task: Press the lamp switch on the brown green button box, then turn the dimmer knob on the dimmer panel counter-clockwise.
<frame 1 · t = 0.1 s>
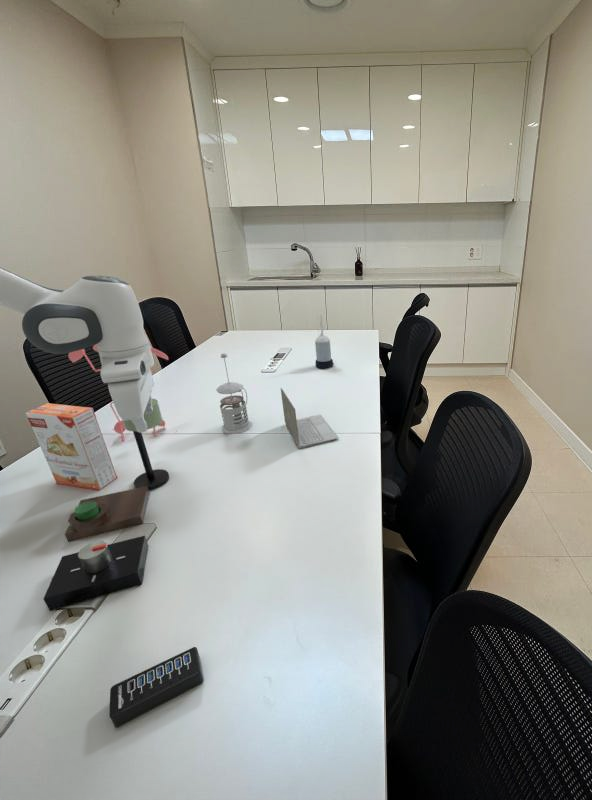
hand: (145, 421, 83), 22 cm above the table, tool pointing down, fingers open, 8 cm apart
lamp switch: (87, 510, 83), point 5 cm above the table, slide at 0.2 cm
dimmer knob: (95, 556, 70), point 5 cm above the table, hinge at 0.0°
brown green button box: (112, 515, 88), on the table
laptop: (310, 432, 123), on the table
french press: (238, 425, 128), on the table
dimmer panel: (103, 576, 72), on the table
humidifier: (324, 366, 182), on the table
figurine: (144, 429, 127), on the table
cracker box: (87, 482, 101), on the table
multiport hub: (160, 690, 54), on the table
desk lamp: (152, 481, 100), on the table
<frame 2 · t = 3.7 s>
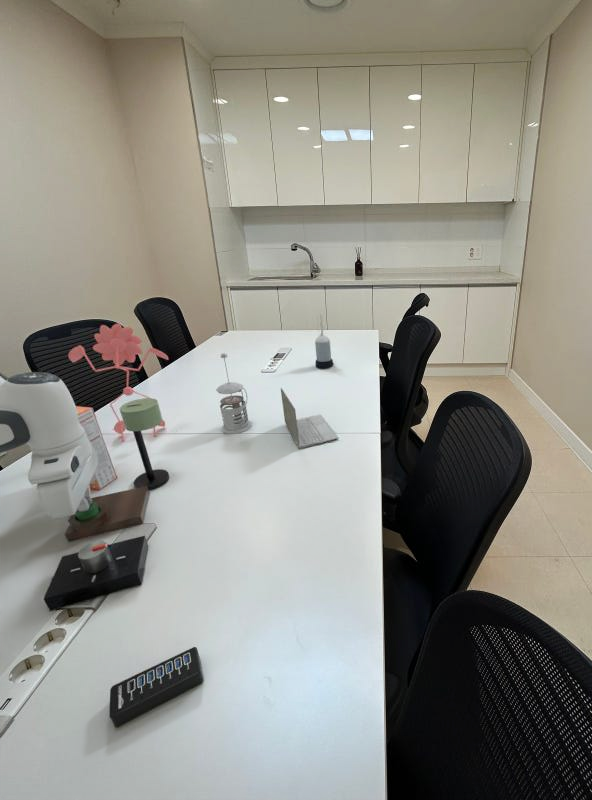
hand: (86, 506, 82), 6 cm above the table, tool pointing down, fingers closed, pressing on lamp switch
lamp switch: (87, 511, 83), point 5 cm above the table, slide at 0.1 cm, touching gripper
everything else where it was.
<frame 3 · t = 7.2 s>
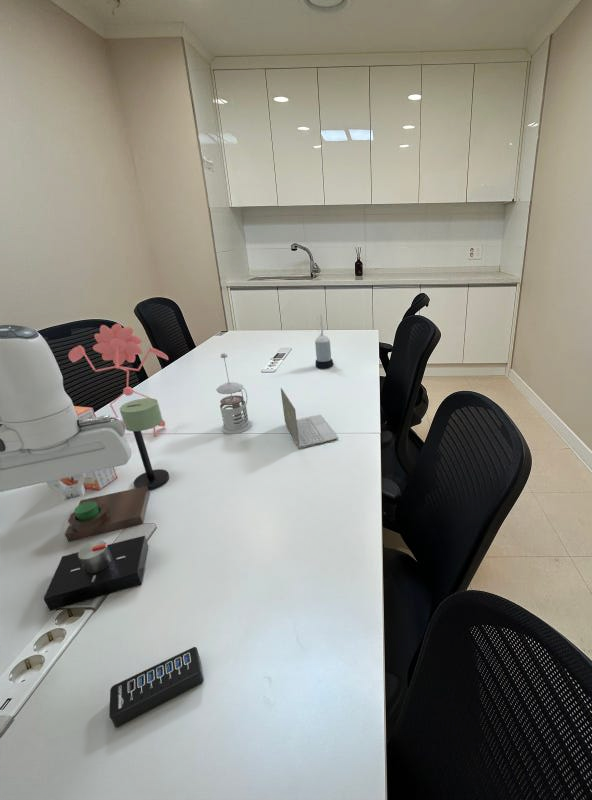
hand: (75, 495, 68), 17 cm above the table, tool pointing down, fingers closed
lamp switch: (87, 510, 83), point 5 cm above the table, slide at 0.1 cm
everything else where it was.
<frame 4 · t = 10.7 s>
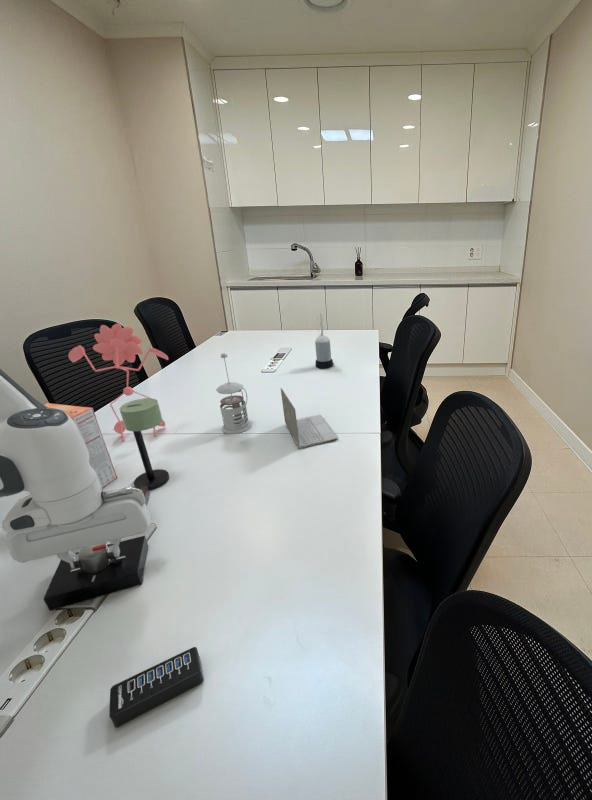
hand: (96, 560, 71), 4 cm above the table, tool pointing down, fingers closed on dimmer knob, 4 cm apart
dimmer knob: (95, 556, 70), point 5 cm above the table, hinge at -0.2°, touching gripper
everything else where it was.
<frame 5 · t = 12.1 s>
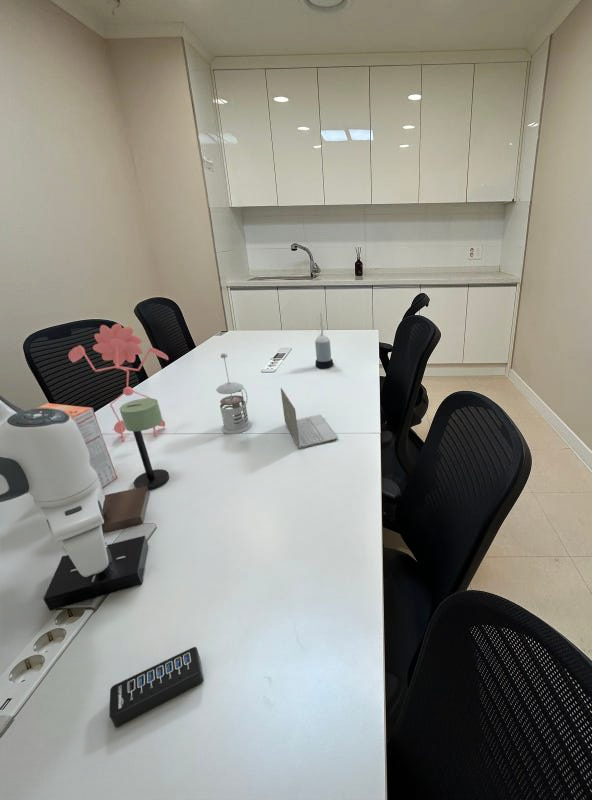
hand: (96, 560, 71), 4 cm above the table, tool pointing down, fingers closed on dimmer knob, 4 cm apart
dimmer knob: (95, 556, 70), point 5 cm above the table, hinge at 103.7°, touching gripper
everything else where it was.
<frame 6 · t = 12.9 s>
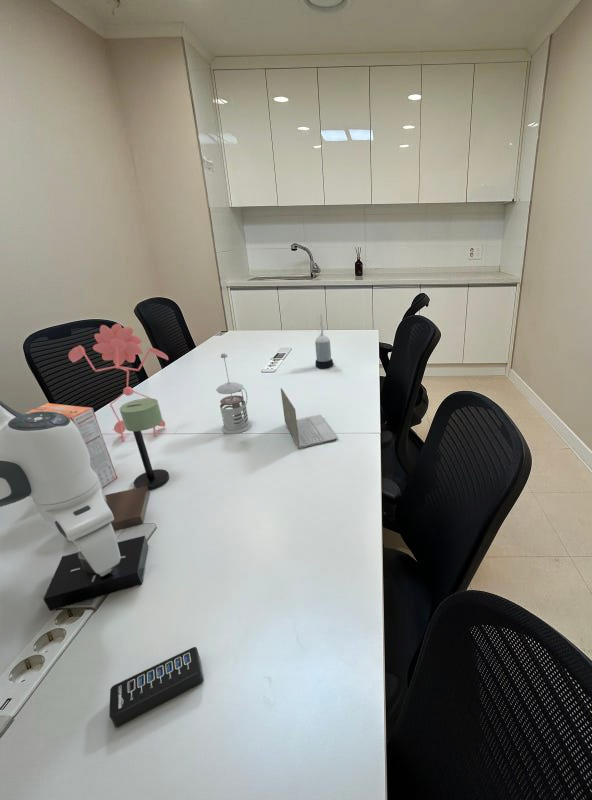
hand: (98, 562, 71), 3 cm above the table, tool pointing down, fingers open, 6 cm apart
dimmer knob: (95, 556, 70), point 5 cm above the table, hinge at 114.5°
everything else where it was.
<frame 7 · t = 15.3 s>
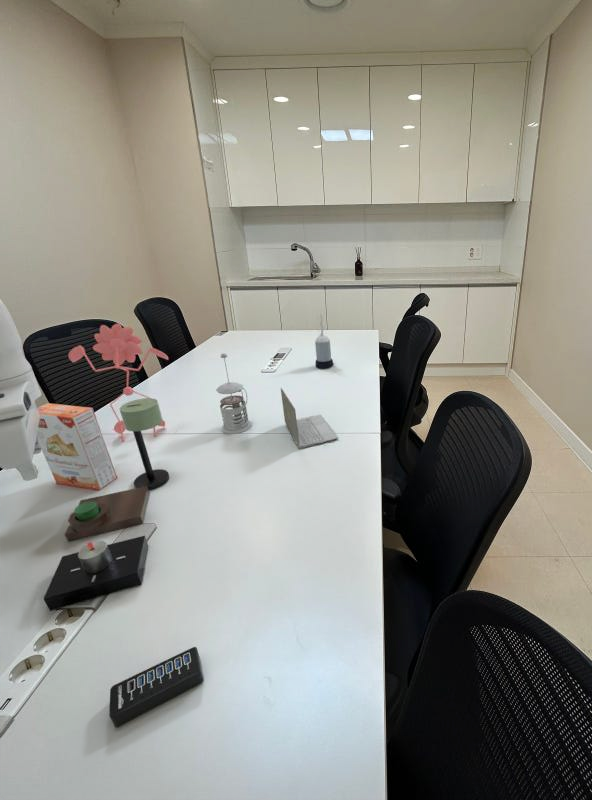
hand: (33, 464, 67), 22 cm above the table, tool pointing down, fingers open, 8 cm apart
nothing on the table moved.
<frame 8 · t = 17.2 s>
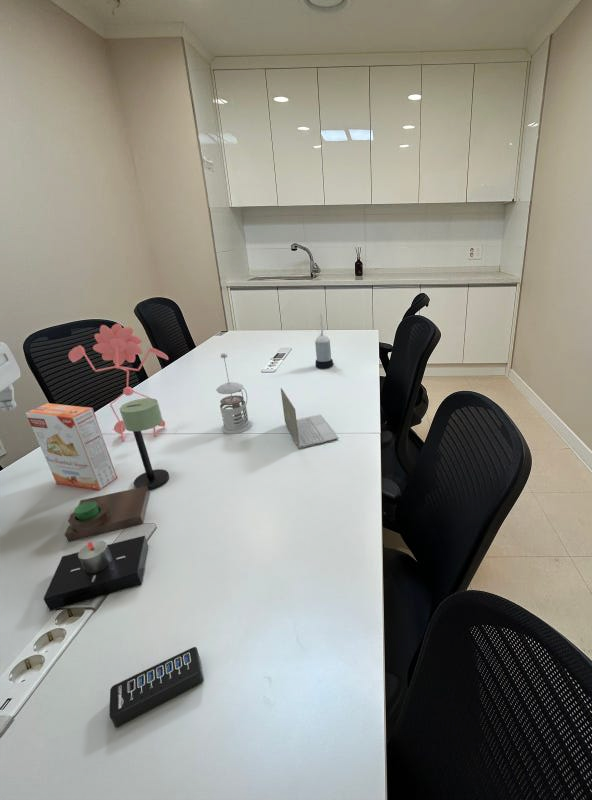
nothing on the table moved.
at the end: lamp switch pushed in 1.0 cm at the most during the clip, back to where it started at the end; lamp switch slide at 0.1 cm; dimmer knob at +114° (first picture: +0°) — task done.
